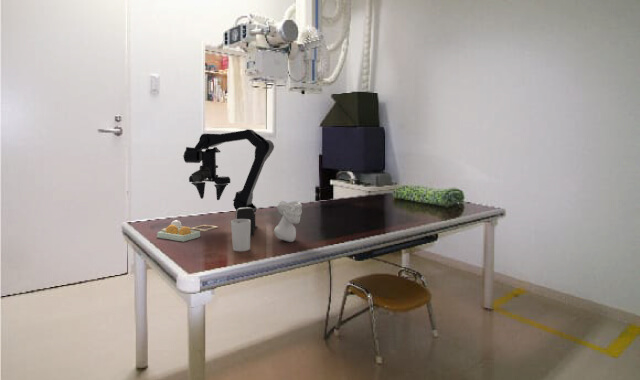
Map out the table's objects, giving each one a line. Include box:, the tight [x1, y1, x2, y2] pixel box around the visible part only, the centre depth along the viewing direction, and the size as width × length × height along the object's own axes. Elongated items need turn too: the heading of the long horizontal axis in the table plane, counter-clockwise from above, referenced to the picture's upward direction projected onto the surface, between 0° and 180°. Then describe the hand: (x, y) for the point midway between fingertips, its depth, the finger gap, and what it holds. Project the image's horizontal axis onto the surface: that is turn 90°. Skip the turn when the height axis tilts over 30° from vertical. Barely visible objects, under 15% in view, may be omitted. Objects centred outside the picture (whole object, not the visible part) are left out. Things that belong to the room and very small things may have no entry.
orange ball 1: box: [165, 224, 178, 234], centre depth 159 cm, size 4×4×4 cm
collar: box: [190, 224, 219, 232], centre depth 172 cm, size 8×8×1 cm
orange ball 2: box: [179, 226, 191, 235], centre depth 156 cm, size 4×4×4 cm
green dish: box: [156, 228, 201, 242], centre depth 157 cm, size 14×9×2 cm, turn 62°
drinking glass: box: [230, 218, 251, 252], centre depth 142 cm, size 7×7×10 cm
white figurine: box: [273, 200, 303, 243], centre depth 152 cm, size 10×11×15 cm
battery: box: [235, 207, 255, 237], centre depth 161 cm, size 7×4×11 cm, turn 115°
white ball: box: [170, 219, 183, 229], centre depth 170 cm, size 4×4×4 cm
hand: (210, 199), depth 177 cm, fingers open, 9 cm apart
